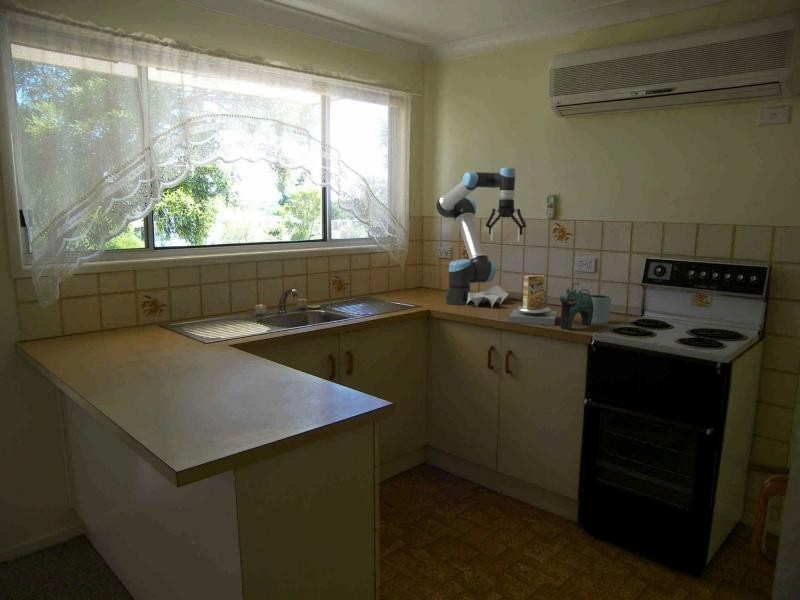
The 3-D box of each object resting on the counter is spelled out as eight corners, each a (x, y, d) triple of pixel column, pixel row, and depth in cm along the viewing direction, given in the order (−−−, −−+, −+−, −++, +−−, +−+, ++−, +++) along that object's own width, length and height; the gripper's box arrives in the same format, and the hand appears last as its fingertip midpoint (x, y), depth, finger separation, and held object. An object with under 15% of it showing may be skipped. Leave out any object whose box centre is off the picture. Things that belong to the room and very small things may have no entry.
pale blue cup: (613, 321, 268) (615, 296, 266) (604, 324, 260) (606, 298, 258) (592, 318, 275) (594, 293, 273) (583, 321, 267) (584, 296, 265)
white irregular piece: (497, 310, 298) (498, 291, 296) (463, 307, 306) (463, 288, 305) (511, 303, 320) (512, 285, 318) (479, 300, 328) (479, 283, 327)
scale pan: (515, 314, 265) (515, 310, 265) (518, 309, 279) (519, 304, 279) (549, 317, 261) (549, 312, 260) (551, 311, 275) (551, 306, 275)
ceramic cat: (566, 331, 247) (569, 284, 244) (554, 328, 252) (556, 282, 249) (595, 325, 259) (597, 281, 255) (583, 323, 264) (585, 279, 261)
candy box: (527, 309, 266) (528, 276, 264) (522, 308, 270) (523, 275, 268) (543, 308, 269) (545, 275, 267) (539, 307, 273) (540, 274, 271)
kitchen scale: (508, 322, 264) (509, 294, 262) (514, 314, 283) (515, 288, 281) (554, 325, 258) (555, 296, 256) (556, 317, 277) (557, 290, 275)
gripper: (480, 198, 294) (479, 240, 297) (531, 199, 286) (529, 242, 289) (483, 199, 301) (482, 240, 304) (532, 199, 293) (530, 241, 297)
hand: (505, 241), depth 297 cm, fingers open, 13 cm apart
